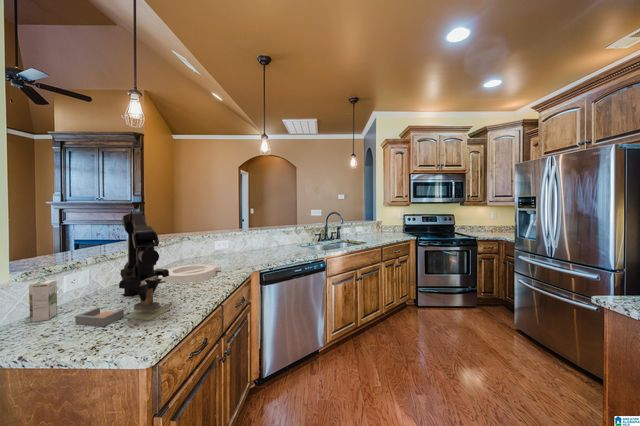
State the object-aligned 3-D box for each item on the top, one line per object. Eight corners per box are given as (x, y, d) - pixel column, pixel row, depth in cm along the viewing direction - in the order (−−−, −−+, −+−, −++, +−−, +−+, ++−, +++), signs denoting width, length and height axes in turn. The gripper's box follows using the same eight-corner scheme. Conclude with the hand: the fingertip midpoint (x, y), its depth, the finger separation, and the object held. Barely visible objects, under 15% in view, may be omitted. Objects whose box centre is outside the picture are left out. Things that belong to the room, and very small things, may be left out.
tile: (105, 316, 106) (105, 311, 106) (118, 317, 105) (118, 312, 105) (90, 323, 100) (90, 317, 100) (103, 324, 99) (103, 318, 99)
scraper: (142, 306, 109) (141, 287, 109) (159, 307, 108) (159, 287, 108) (134, 310, 106) (133, 290, 105) (151, 311, 104) (151, 291, 104)
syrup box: (39, 316, 106) (37, 280, 105) (58, 314, 108) (56, 278, 107) (29, 322, 100) (27, 284, 100) (50, 320, 102) (48, 282, 102)
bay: (97, 314, 107) (97, 307, 106) (123, 317, 104) (123, 309, 104) (75, 324, 98) (75, 316, 98) (103, 326, 96) (103, 318, 96)
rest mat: (144, 308, 113) (144, 307, 113) (169, 309, 111) (169, 308, 111) (123, 318, 103) (123, 316, 103) (150, 320, 101) (150, 319, 101)
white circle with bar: (222, 271, 175) (222, 264, 175) (203, 284, 147) (202, 275, 147) (180, 271, 176) (180, 264, 176) (153, 284, 148) (152, 275, 148)
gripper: (147, 255, 117) (148, 290, 117) (105, 265, 98) (107, 307, 99) (169, 256, 115) (170, 292, 115) (131, 266, 96) (132, 309, 97)
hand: (146, 299), depth 107 cm, fingers closed on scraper, 3 cm apart
